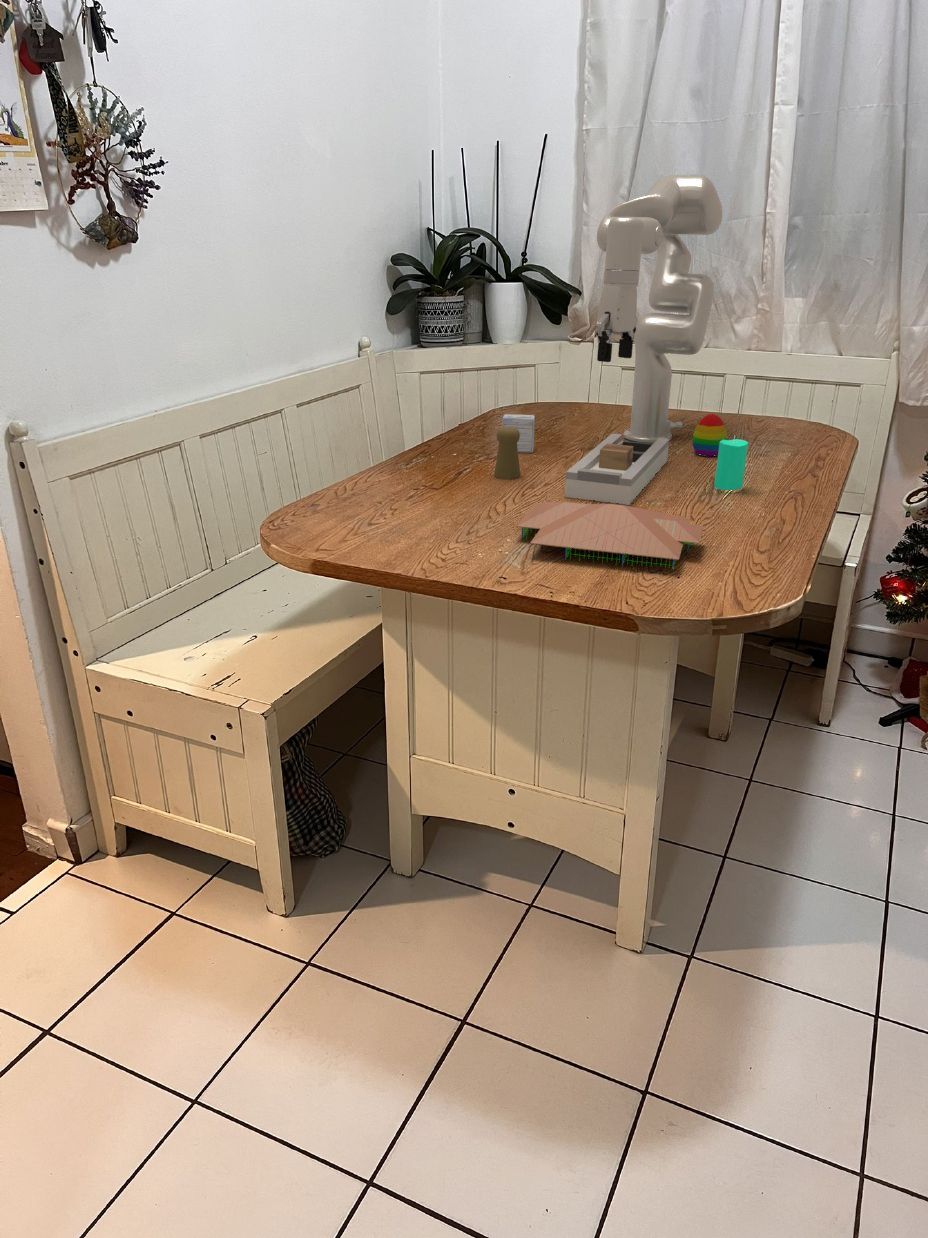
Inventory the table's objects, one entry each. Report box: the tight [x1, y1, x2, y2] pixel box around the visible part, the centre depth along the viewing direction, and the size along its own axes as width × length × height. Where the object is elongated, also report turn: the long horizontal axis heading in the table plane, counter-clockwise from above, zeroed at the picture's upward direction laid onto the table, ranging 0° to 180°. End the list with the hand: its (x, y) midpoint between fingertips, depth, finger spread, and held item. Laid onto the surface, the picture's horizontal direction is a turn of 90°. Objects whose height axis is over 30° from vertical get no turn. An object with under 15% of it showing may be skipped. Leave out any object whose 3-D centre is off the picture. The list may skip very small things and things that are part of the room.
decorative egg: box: [692, 413, 728, 456], centre depth 229 cm, size 8×8×10 cm
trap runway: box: [564, 433, 670, 506], centre depth 209 cm, size 38×14×6 cm, turn 157°
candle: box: [713, 435, 749, 490], centre depth 201 cm, size 6×6×12 cm
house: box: [516, 501, 704, 570], centre depth 169 cm, size 23×33×8 cm
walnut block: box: [599, 444, 633, 471], centre depth 204 cm, size 6×6×4 cm
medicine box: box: [501, 413, 536, 454], centre depth 231 cm, size 8×4×9 cm, turn 84°
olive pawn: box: [493, 427, 521, 480], centre depth 209 cm, size 6×6×11 cm
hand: (614, 359), depth 208 cm, fingers open, 9 cm apart
